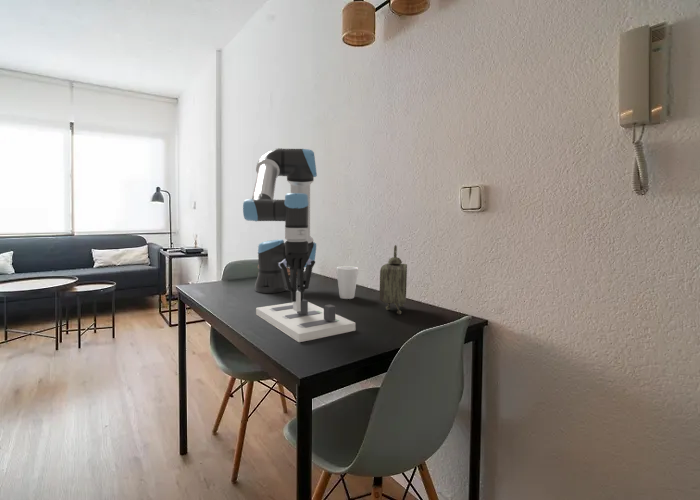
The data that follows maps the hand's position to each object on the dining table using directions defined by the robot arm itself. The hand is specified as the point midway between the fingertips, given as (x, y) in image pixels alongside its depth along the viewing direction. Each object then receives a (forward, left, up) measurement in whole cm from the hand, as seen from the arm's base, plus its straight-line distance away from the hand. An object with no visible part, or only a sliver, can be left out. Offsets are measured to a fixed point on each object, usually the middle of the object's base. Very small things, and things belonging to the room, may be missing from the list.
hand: (296, 310), depth 128 cm
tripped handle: (0, +2, -1) cm, 2 cm away
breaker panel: (0, +2, -4) cm, 5 cm away
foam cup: (-22, +35, -5) cm, 42 cm away
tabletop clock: (+5, +38, -5) cm, 39 cm away
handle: (+11, +6, -1) cm, 13 cm away
